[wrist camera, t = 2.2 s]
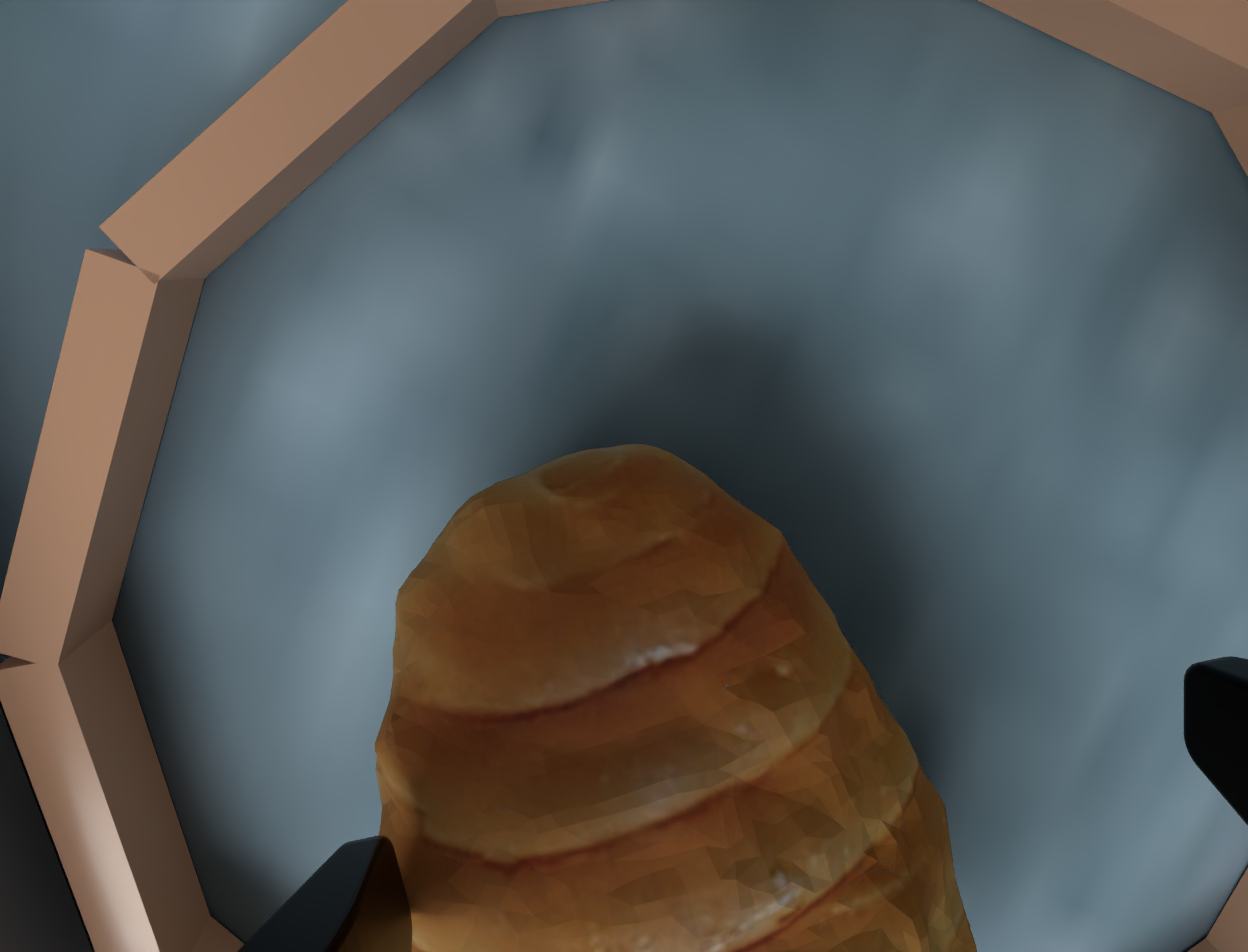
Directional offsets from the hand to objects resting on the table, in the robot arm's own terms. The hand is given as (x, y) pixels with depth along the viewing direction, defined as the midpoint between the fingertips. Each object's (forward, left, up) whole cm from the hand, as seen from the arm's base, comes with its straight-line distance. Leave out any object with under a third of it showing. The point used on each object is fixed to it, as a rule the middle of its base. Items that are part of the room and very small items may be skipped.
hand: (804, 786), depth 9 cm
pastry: (-1, 0, -4) cm, 4 cm away
